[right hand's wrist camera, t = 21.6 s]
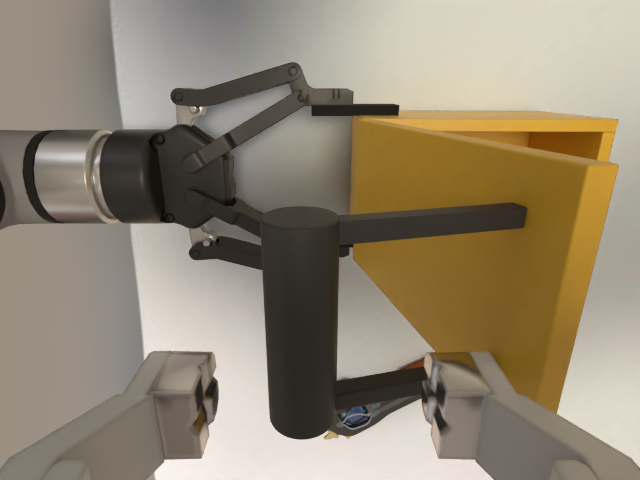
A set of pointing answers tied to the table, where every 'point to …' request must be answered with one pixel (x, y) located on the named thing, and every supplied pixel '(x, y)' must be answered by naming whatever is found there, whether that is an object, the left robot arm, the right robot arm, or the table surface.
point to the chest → (508, 131)
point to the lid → (435, 266)
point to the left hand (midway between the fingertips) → (391, 176)
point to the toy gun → (360, 414)
